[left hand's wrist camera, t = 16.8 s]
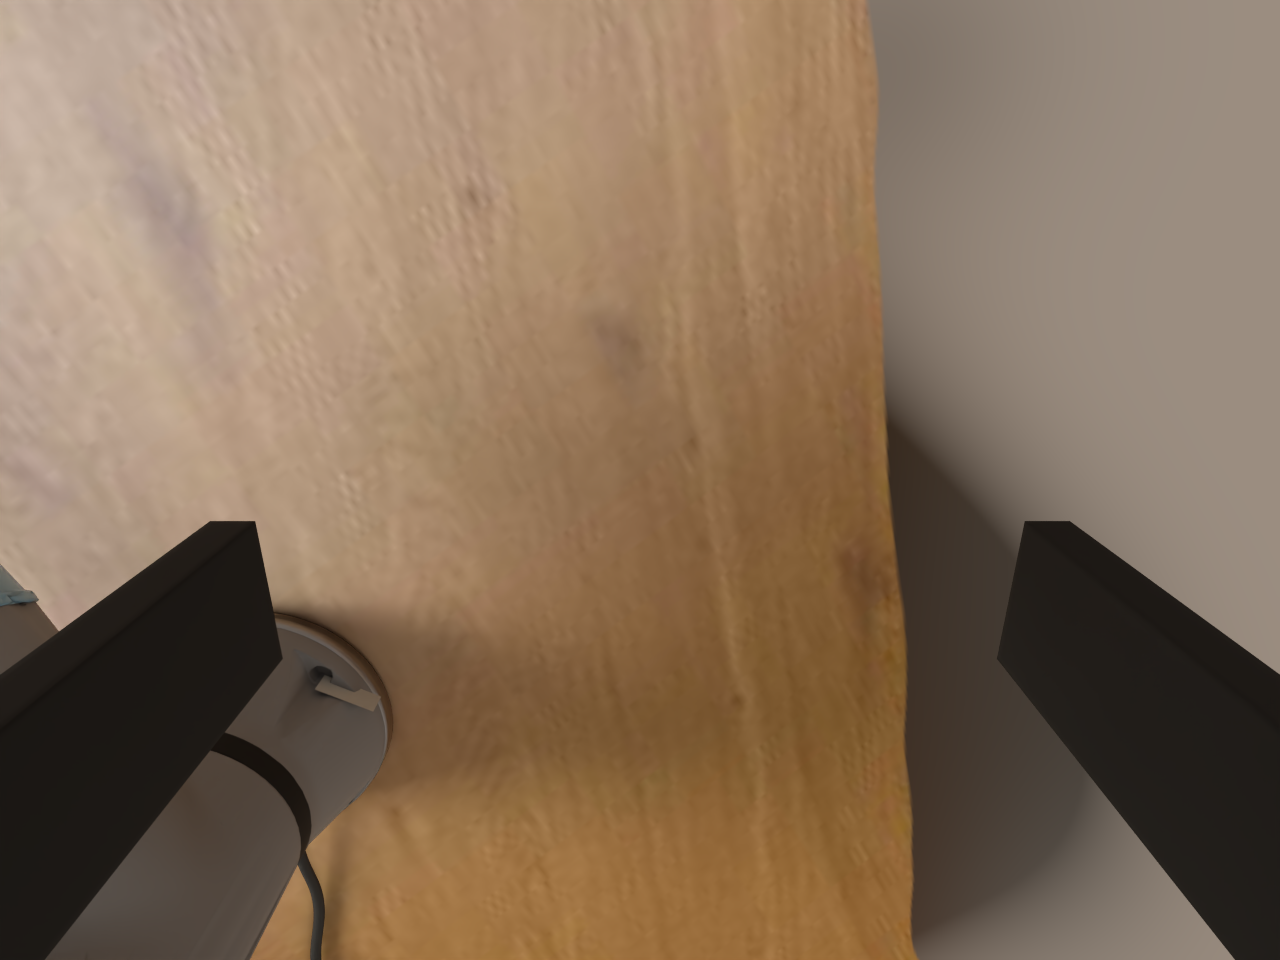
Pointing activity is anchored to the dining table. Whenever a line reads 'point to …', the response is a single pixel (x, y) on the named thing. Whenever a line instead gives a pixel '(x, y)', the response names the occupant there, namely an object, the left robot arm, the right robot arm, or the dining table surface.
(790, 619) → the dining table surface
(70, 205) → the dining table surface
